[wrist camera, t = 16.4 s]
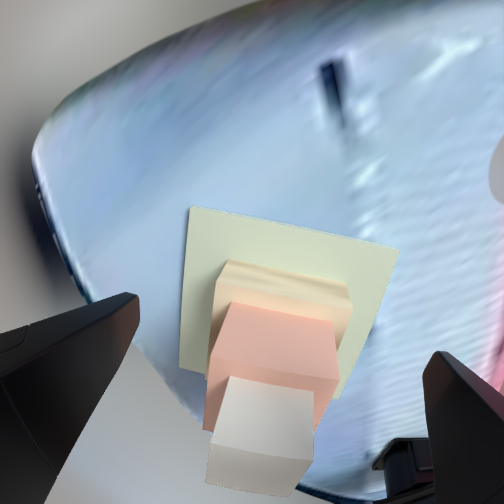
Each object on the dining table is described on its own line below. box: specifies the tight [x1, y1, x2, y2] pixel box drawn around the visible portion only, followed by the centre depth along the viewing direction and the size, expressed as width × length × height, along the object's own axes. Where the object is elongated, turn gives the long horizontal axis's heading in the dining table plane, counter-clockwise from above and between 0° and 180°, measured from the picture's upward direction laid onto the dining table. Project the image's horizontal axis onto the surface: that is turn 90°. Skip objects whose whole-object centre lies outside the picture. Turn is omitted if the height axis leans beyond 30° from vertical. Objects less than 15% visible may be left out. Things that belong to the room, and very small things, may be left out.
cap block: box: [205, 376, 314, 497], centre depth 13 cm, size 4×4×4 cm
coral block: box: [203, 302, 340, 432], centre depth 17 cm, size 6×6×5 cm
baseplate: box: [179, 205, 399, 399], centre depth 23 cm, size 14×14×1 cm
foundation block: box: [205, 259, 353, 381], centre depth 21 cm, size 8×8×4 cm
